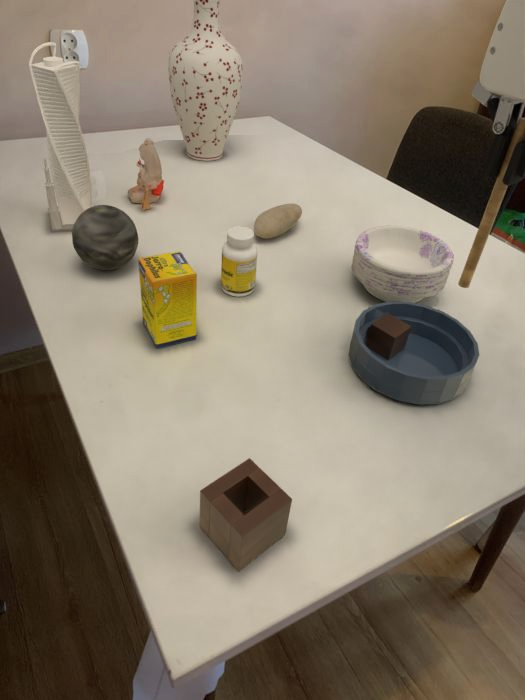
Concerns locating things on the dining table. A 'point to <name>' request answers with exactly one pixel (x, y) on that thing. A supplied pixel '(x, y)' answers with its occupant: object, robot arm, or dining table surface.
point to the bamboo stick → (490, 210)
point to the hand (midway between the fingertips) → (504, 177)
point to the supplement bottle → (239, 262)
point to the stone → (277, 220)
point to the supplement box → (168, 298)
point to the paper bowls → (401, 263)
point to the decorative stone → (105, 237)
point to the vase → (205, 83)
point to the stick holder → (256, 501)
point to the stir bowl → (416, 355)
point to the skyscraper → (62, 139)
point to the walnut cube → (388, 336)
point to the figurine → (147, 177)
